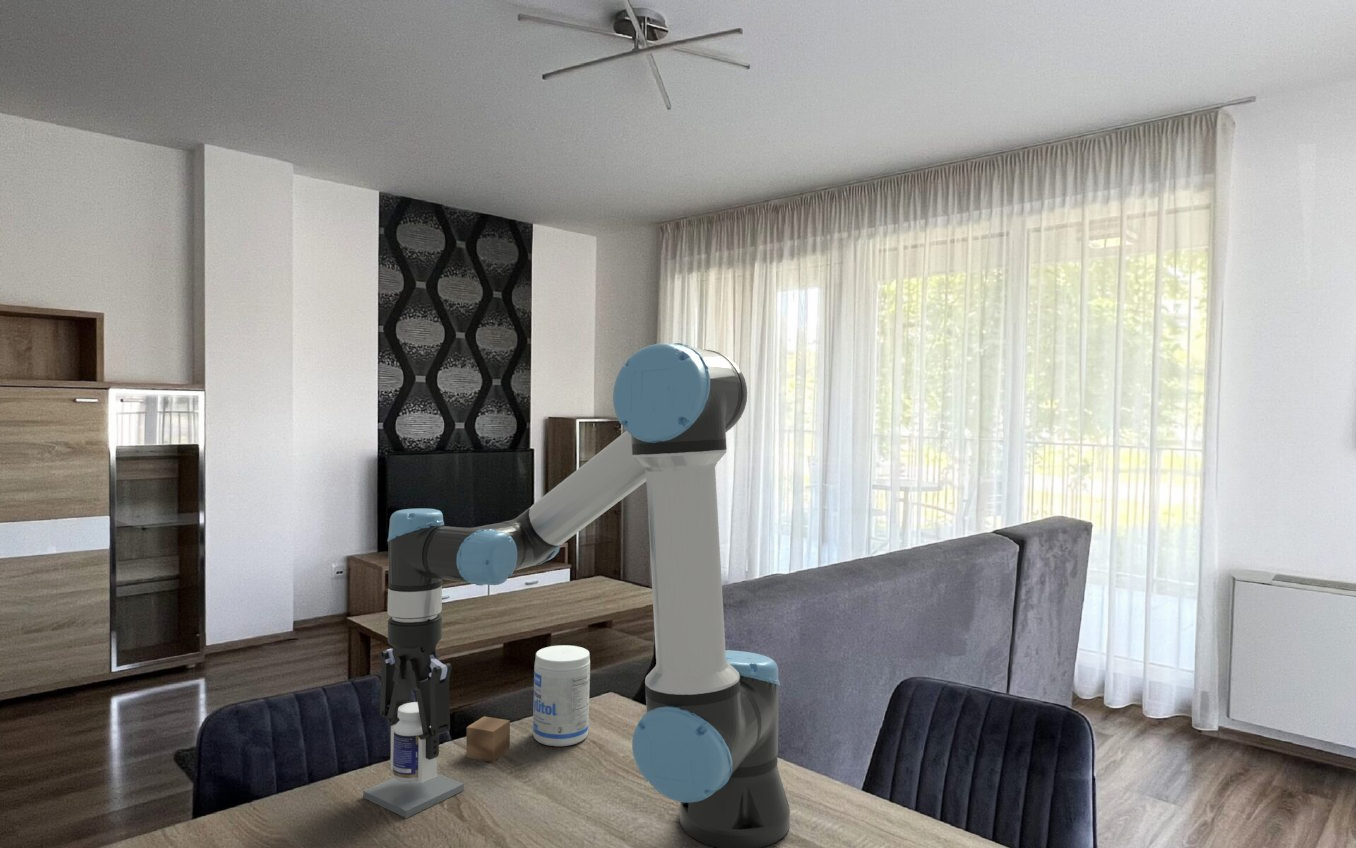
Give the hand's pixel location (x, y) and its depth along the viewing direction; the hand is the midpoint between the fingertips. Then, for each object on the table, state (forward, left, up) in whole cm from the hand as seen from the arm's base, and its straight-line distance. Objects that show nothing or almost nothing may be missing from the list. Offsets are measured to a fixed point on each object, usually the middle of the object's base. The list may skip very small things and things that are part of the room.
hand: (413, 772), depth 118 cm
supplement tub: (-3, -28, -3) cm, 28 cm away
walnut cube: (+2, -16, -3) cm, 16 cm away
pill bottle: (0, 0, 0) cm, 0 cm away
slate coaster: (0, 0, -3) cm, 3 cm away
